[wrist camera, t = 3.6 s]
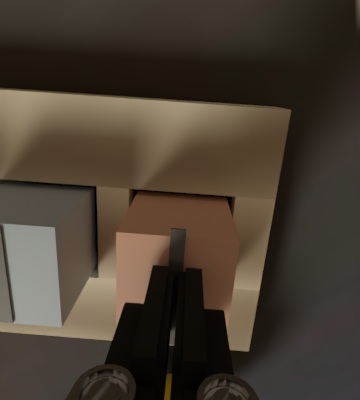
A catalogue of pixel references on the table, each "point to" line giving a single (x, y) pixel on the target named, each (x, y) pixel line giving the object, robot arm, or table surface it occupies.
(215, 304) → the key terracotta
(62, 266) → the key slate
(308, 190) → the table surface
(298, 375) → the table surface
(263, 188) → the keypad board
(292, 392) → the table surface
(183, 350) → the robot arm
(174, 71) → the table surface
